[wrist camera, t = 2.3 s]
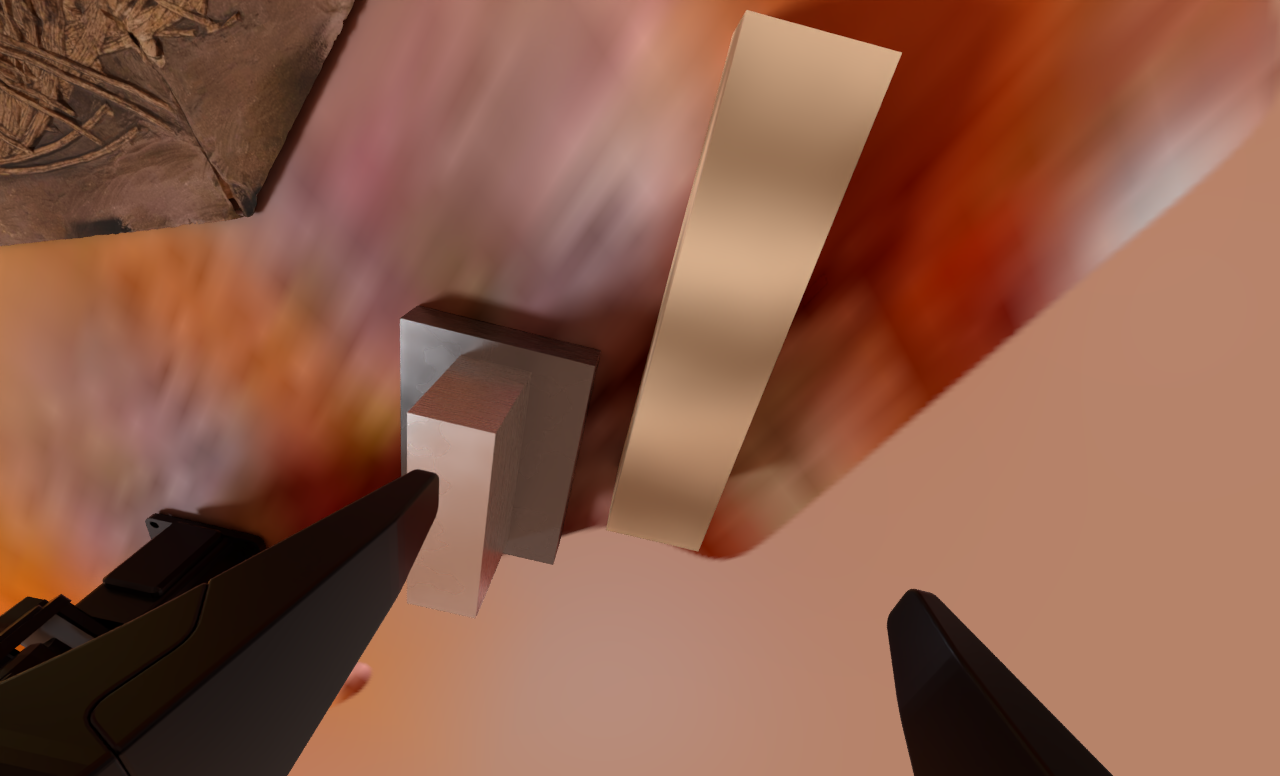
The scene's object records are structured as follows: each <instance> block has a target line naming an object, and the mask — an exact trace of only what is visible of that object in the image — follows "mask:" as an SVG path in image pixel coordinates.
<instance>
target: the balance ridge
mask: <svg viewBox="0 0 1280 776" xmlns="http://www.w3.org/2000/svg"><path fill="white" fill-rule="evenodd" d="M600 352H601V351H599V350H595V349H591V348H587V347H583V346H579V345H575V344H571V343H567V342H563V341H559V340H555V339H551V338H547V337H543V336H539V335H535V334H531V333H527V332H523V331H518V330H514V329H510V328H506V327H502V326H498V325H494V324H490V323H486V322H482V321H478V320H474V319H470V318H466V317H462V316H458V315H454V314H450V313H446V312H442V311H438V310H434V309H430V308H425V307H421V306H416V307H415V308H414V309H412V310H411V311H410V312H408V313H407V314H405V315H404V316H403V317H401V318H400V373H401V476H403V475H405V474H407V473H408V472H410V471H412V470H415V469H421V470H425V471H429V472H433V473H436V474H437V475H438V476H439V507H438V512H437V515H436V518H435V520H434V522H433V524H432V526H431V528H430V530H429V533H428V535H427V537H426V539H425V541H424V543H423V545H422V547H421V549H420V551H419V554H418V556H417V558H416V560H415V562H414V564H413V566H412V568H411V570H410V573H409V575H408V577H407V603H409V604H413V605H418V606H422V607H426V608H431V609H436V610H440V611H444V612H449V613H454V614H458V615H462V616H467V617H471V618H476V616H477V614H478V611H479V609H480V606H481V604H482V602H483V599H484V597H485V595H486V592H487V590H488V588H489V585H490V583H491V580H492V578H493V575H494V573H495V571H496V568H497V566H498V564H499V561H500V559H501V556H502V554H503V553H504V554H508V555H513V556H517V557H522V558H526V559H530V560H535V561H539V562H543V563H548V564H552V565H553V563H554V560H555V557H556V553H557V549H558V546H559V543H560V538H561V534H562V529H563V524H564V520H565V515H566V510H567V506H568V501H569V496H570V492H571V487H572V482H573V478H574V473H575V468H576V464H577V459H578V454H579V450H580V445H581V440H582V436H583V431H584V426H585V422H586V417H587V412H588V408H589V403H590V398H591V394H592V389H593V384H594V380H595V375H596V370H597V366H598V361H599V356H600Z"/></svg>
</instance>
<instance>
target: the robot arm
mask: <svg viewBox="0 0 1280 776" xmlns="http://www.w3.org/2000/svg"><path fill="white" fill-rule="evenodd" d="M438 507H439V476H438V475H437V474H436V473H433V472H429V471H425V470H421V469H415V470H412V471H410V472H408V473H407V474H405V475H403V476H401V477H399V478H397V479H395V480H394V481H392V482H390V483H388V484H386V485H384V486H382V487H381V488H379V489H377V490H375V491H373V492H371V493H370V494H368V495H366V496H364V497H362V498H360V499H358V500H357V501H355V502H353V503H351V504H349V505H347V506H345V507H344V508H342V509H340V510H338V511H336V512H334V513H332V514H331V515H329V516H327V517H325V518H323V519H321V520H319V521H318V522H316V523H314V524H312V525H310V526H308V527H306V528H305V529H303V530H301V531H299V532H297V533H295V534H293V535H292V536H290V537H288V538H286V539H284V540H282V541H280V542H279V543H277V544H275V545H273V546H271V547H269V548H267V549H266V548H265V543H264V541H263V540H262V539H261V538H260V537H258V536H255V535H251V534H246V533H242V532H237V531H233V530H229V529H224V528H220V527H215V526H211V525H206V524H202V523H198V522H193V521H189V520H184V519H180V518H176V517H171V516H167V515H162V514H156V513H155V514H153V515H151V516H150V517H149V518H147V519H146V521H145V522H146V526H147V528H148V531H149V534H150V537H151V540H150V541H149V542H148V543H147V544H145V545H144V546H143V547H142V548H140V549H139V550H138V551H137V552H135V553H134V554H133V555H132V556H130V557H129V558H128V559H127V560H125V561H124V562H123V563H122V564H120V565H119V566H118V567H117V568H115V569H114V570H113V571H112V572H110V573H109V574H108V575H107V576H105V577H104V578H103V583H102V584H101V585H100V586H98V587H97V588H96V589H95V590H93V591H92V592H91V593H90V594H89V595H87V596H86V597H85V598H84V599H82V600H81V601H80V602H79V603H77V604H76V605H75V606H74V605H73V604H71V603H70V602H71V600H70V599H68V598H67V597H65V596H64V595H62V594H60V595H59V596H57V597H55V598H54V599H52V600H51V601H49V602H48V601H47V600H45V599H44V600H42V599H37V598H33V597H26V598H24V599H23V600H21V601H20V602H19V603H17V604H16V605H15V606H13V607H12V608H10V609H9V610H8V611H6V612H5V613H4V614H2V615H1V616H0V776H287V775H288V774H289V772H290V771H291V769H292V767H293V766H294V764H295V762H296V761H297V759H298V758H299V756H300V754H301V753H302V751H303V749H304V748H305V746H306V745H307V743H308V741H309V740H310V738H311V737H312V735H313V733H314V732H315V730H316V728H317V727H318V725H319V724H320V722H321V720H322V719H323V717H324V715H325V714H326V712H327V711H328V709H329V707H330V706H331V704H332V702H333V701H334V699H335V698H336V696H337V694H338V693H339V691H340V689H341V688H342V686H343V685H344V683H345V681H346V680H347V678H348V676H349V675H350V673H351V672H352V670H353V668H354V667H355V665H356V664H357V662H358V660H359V659H360V657H361V655H362V654H363V652H364V650H365V649H366V647H367V645H368V644H369V642H370V641H371V639H372V637H373V636H374V634H375V633H376V631H377V629H378V628H379V626H380V624H381V623H382V621H383V620H384V618H385V616H386V615H387V613H388V612H389V610H390V608H391V607H392V605H393V603H394V602H395V600H396V598H397V596H398V594H399V593H400V591H401V589H402V587H403V585H404V583H405V581H406V579H407V577H408V575H409V573H410V570H411V568H412V566H413V564H414V562H415V560H416V558H417V556H418V554H419V551H420V549H421V547H422V545H423V543H424V541H425V539H426V537H427V535H428V533H429V530H430V528H431V526H432V524H433V522H434V520H435V518H436V515H437V512H438ZM887 630H888V637H889V645H890V652H891V659H892V666H893V673H894V680H895V688H896V695H897V701H898V707H899V712H900V718H901V722H902V727H903V731H904V735H905V739H906V743H907V748H908V752H909V756H910V760H911V765H912V769H913V773H914V776H1113V775H1112V774H1111V773H1110V772H1109V771H1108V770H1107V769H1106V768H1105V767H1104V766H1103V765H1102V764H1101V763H1100V762H1099V761H1098V760H1097V759H1096V758H1095V757H1094V756H1093V755H1092V754H1091V753H1090V752H1089V751H1088V750H1087V749H1086V748H1085V747H1084V746H1083V745H1082V744H1081V743H1080V742H1079V741H1078V740H1077V739H1076V738H1075V737H1074V736H1073V735H1072V733H1071V732H1070V731H1069V730H1068V729H1067V728H1066V727H1065V726H1063V724H1062V723H1061V722H1060V721H1059V720H1058V719H1057V718H1056V717H1055V716H1054V715H1053V714H1052V713H1051V712H1050V711H1049V710H1048V709H1047V708H1046V707H1045V706H1044V705H1043V704H1042V703H1041V702H1040V701H1039V700H1038V699H1037V698H1036V697H1035V696H1034V695H1033V694H1032V693H1031V692H1030V691H1029V690H1028V689H1027V688H1026V687H1025V686H1024V685H1023V684H1022V683H1021V682H1020V681H1019V680H1018V679H1017V678H1016V677H1015V675H1014V674H1012V673H1011V671H1010V670H1008V668H1006V666H1005V665H1004V664H1003V663H1002V662H1001V661H1000V660H999V659H998V658H997V657H996V656H995V655H994V654H993V653H992V652H991V651H990V650H989V649H988V648H987V647H986V646H985V645H984V644H983V643H982V642H981V641H980V640H979V639H978V638H977V637H976V636H975V635H974V634H973V633H972V632H971V631H970V630H969V629H968V628H967V627H966V626H965V625H964V624H963V623H962V622H961V621H960V620H959V619H958V618H957V616H956V615H954V613H952V612H951V610H950V609H949V608H948V607H947V606H946V605H945V604H944V603H943V602H942V601H941V600H940V599H939V598H938V597H936V595H934V594H932V593H929V592H925V591H921V590H917V589H910V590H908V591H907V592H906V593H905V594H904V596H903V597H902V598H901V599H900V601H899V602H898V603H897V604H896V606H895V607H894V608H893V610H892V611H891V612H890V614H889V617H888V621H887ZM20 644H21V645H22V646H24V647H26V648H25V649H23V650H22V651H21V652H20V651H18V650H16V649H15V648H16V647H17V646H18V645H20Z"/></svg>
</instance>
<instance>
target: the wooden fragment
mask: <svg viewBox="0 0 1280 776" xmlns="http://www.w3.org/2000/svg"><path fill="white" fill-rule="evenodd" d="M354 1H355V0H0V246H2V245H14V244H21V243H33V242H41V241H49V240H59V239H72V238H83V237H91V236H94V235H109V234H119V233H127V232H136V231H144V230H151V229H159V228H167V227H177V226H180V225H183V224H191V223H192V222H193V223H195V224H196V222H198V224H201V223H210V222H217V221H226V220H232V219H237V218H241V217H244V216H245V217H250V216H252V215H253V213H254V210H255V207H256V205H257V196H256V195H257V193H258V192H259V191H260V190H261V188H262V186H263V184H264V182H265V180H266V178H267V176H268V174H269V171H270V168H271V167H272V166H273V163H274V161H275V159H276V157H277V155H278V154H279V152H280V150H281V148H282V146H283V144H284V142H285V140H286V138H287V134H288V131H290V130H291V128H292V125H293V123H294V120H295V119H296V117H297V116H298V114H299V111H300V109H301V107H302V105H303V103H304V101H305V99H306V97H307V95H308V94H309V92H310V90H311V88H312V86H313V84H314V81H315V79H316V77H317V76H318V74H319V73H320V71H321V69H322V65H323V62H324V60H325V59H326V57H327V55H328V54H329V52H330V50H331V48H332V46H333V42H334V40H336V38H337V35H339V34H340V32H341V30H342V27H343V20H344V19H346V18H347V15H348V14H349V12H350V10H351V8H352V6H353V3H354ZM230 198H234V199H235V200H236V201H237V203H238V205H239V207H240V208H239V209H234V208H233V207H232V204H231V202H230V201H229V200H228V199H230ZM235 210H242V211H243V214H244V216H241V215H238V214H237V213H236V212H235Z"/></svg>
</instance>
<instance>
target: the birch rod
mask: <svg viewBox="0 0 1280 776" xmlns="http://www.w3.org/2000/svg"><path fill="white" fill-rule="evenodd" d="M901 54H902V52H898V51H894V50H891V49H887V48H883V47H880V46H876V45H873V44H869V43H865V42H862V41H858V40H854V39H851V38H847V37H843V36H840V35H836V34H832V33H829V32H825V31H822V30H818V29H814V28H811V27H807V26H803V25H800V24H796V23H792V22H789V21H785V20H781V19H778V18H774V17H771V16H767V15H763V14H760V13H756V12H752V11H749V10H746V12H745V13H744V15H743V17H742V19H741V20H740V22H739V24H738V26H737V27H736V29H735V31H734V32H733V35H732V39H731V43H730V46H729V50H728V54H727V58H726V61H725V65H724V69H723V73H722V77H721V80H720V84H719V88H718V92H717V96H716V99H715V103H714V107H713V111H712V114H711V118H710V122H709V126H708V130H707V133H706V137H705V141H704V145H703V148H702V152H701V156H700V160H699V164H698V167H697V171H696V175H695V179H694V183H693V186H692V190H691V194H690V198H689V201H688V205H687V209H686V213H685V217H684V220H683V224H682V228H681V232H680V235H679V239H678V243H677V247H676V251H675V254H674V258H673V262H672V266H671V270H670V273H669V277H668V281H667V285H666V288H665V292H664V296H663V300H662V304H661V307H660V311H659V315H658V319H657V322H656V326H655V330H654V334H653V338H652V341H651V345H650V349H649V353H648V357H647V360H646V364H645V368H644V372H643V375H642V379H641V383H640V387H639V391H638V394H637V398H636V402H635V406H634V409H633V413H632V417H631V421H630V425H629V428H628V432H627V436H626V440H625V444H624V447H623V451H622V455H621V459H620V462H619V466H618V471H617V476H616V481H615V486H614V491H613V497H612V502H611V507H610V512H609V517H608V522H607V527H606V530H608V531H612V532H617V533H621V534H625V535H630V536H635V537H639V538H643V539H647V540H651V541H656V542H660V543H664V544H669V545H673V546H677V547H682V548H686V549H690V550H695V551H699V548H700V546H701V543H702V541H703V538H704V536H705V534H706V531H707V529H708V526H709V524H710V521H711V519H712V516H713V514H714V512H715V509H716V507H717V504H718V502H719V499H720V497H721V494H722V492H723V490H724V487H725V485H726V482H727V480H728V477H729V475H730V472H731V470H732V468H733V465H734V463H735V460H736V458H737V455H738V453H739V450H740V448H741V446H742V443H743V441H744V438H745V436H746V433H747V431H748V428H749V426H750V423H751V421H752V419H753V416H754V414H755V411H756V409H757V406H758V404H759V401H760V399H761V397H762V394H763V392H764V389H765V387H766V384H767V382H768V379H769V377H770V375H771V372H772V370H773V367H774V365H775V362H776V360H777V357H778V355H779V353H780V350H781V348H782V345H783V343H784V340H785V338H786V335H787V333H788V331H789V328H790V326H791V323H792V321H793V318H794V316H795V313H796V311H797V309H798V306H799V304H800V301H801V299H802V296H803V294H804V291H805V289H806V287H807V284H808V282H809V279H810V277H811V274H812V272H813V269H814V267H815V265H816V262H817V260H818V257H819V255H820V252H821V250H822V247H823V245H824V243H825V240H826V238H827V235H828V233H829V230H830V228H831V225H832V223H833V221H834V218H835V216H836V213H837V211H838V208H839V206H840V203H841V201H842V199H843V196H844V194H845V191H846V189H847V186H848V184H849V181H850V179H851V177H852V174H853V172H854V169H855V167H856V164H857V162H858V159H859V157H860V155H861V152H862V150H863V147H864V145H865V142H866V140H867V137H868V135H869V133H870V130H871V128H872V125H873V123H874V120H875V118H876V115H877V113H878V111H879V108H880V106H881V103H882V101H883V98H884V96H885V93H886V91H887V89H888V86H889V84H890V81H891V79H892V76H893V74H894V71H895V69H896V67H897V64H898V62H899V59H900V57H901Z"/></svg>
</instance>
